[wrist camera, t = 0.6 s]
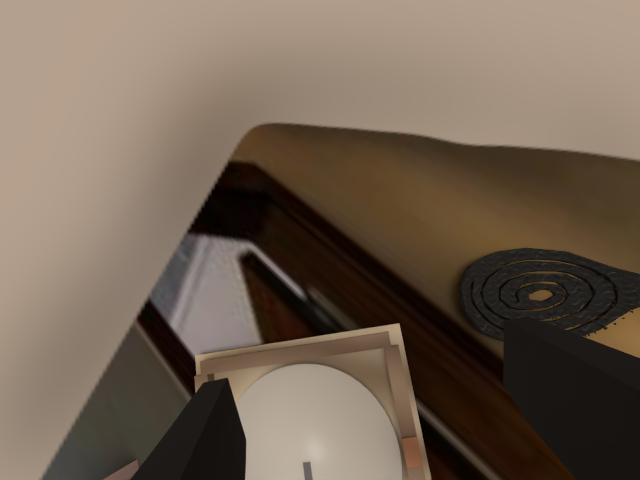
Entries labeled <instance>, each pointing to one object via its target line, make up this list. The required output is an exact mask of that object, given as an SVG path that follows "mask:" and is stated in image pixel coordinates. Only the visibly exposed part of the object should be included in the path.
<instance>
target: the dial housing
mask: <svg viewBox="0 0 640 480" xmlns="http://www.w3.org/2000/svg"><path fill="white" fill-rule="evenodd" d="M195 358H196V374H197V376H195V391H196V392H197V390H198V389H199V388H200V386H201V385H202V384H203V383H204V382H208V381H213V380H218V379H223V378H228V380H229V383H230V386H231V390H232V393H233V397H234V400H235V403H237V401H238V400H239V398H240V397H241V396H242V395H243V393H244V392H245V391H246V390H247V389H248V388H249V387H250V386H251V385H252V384H253V383H255V382H256V381H257V380H259V379H260V378H262V377H263V376H265V375H267V374H268V373H270V372H272V371H274V370H276V369H279V368H281V367H284V366H287V365H292V364H296V363H320V364H324V365H329V366H332V367H335V368H338V369H341V370H343V371H344V372H346V373H348V374H350V375H352V376H353V377H355V378H356V379H358V380H359V381H361V382H362V383H363V384H364V385H365V386H366V387H367V388H368V389H370V391H371V392H372V393H373V394H374V395H375V396H376V397H377V399H378V400H379V401H380V403H381V404H382V406H383V407H384V409H385V410H386V412H387V414H388V416H389V418H390V420H391V422H392V425H393V427H394V430H395V433H396V436H397V440H398V444H399V449H400V455H401V463H402V480H431V475H430V470H429V465H428V461H427V456H426V451H425V446H424V441H423V436H422V431H421V426H420V421H419V417H418V412H417V407H416V402H415V397H414V392H413V387H412V382H411V378H410V373H409V368H408V363H407V358H406V353H405V348H404V343H403V339H402V334H401V329H400V324H399V323H397V324H390V325H384V326H378V327H371V328H365V329H359V330H352V331H346V332H340V333H333V334H327V335H321V336H314V337H308V338H302V339H295V340H289V341H283V342H276V343H270V344H264V345H257V346H251V347H245V348H238V349H232V350H226V351H219V352H213V353H206V354H201V355H196V356H195Z"/></svg>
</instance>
